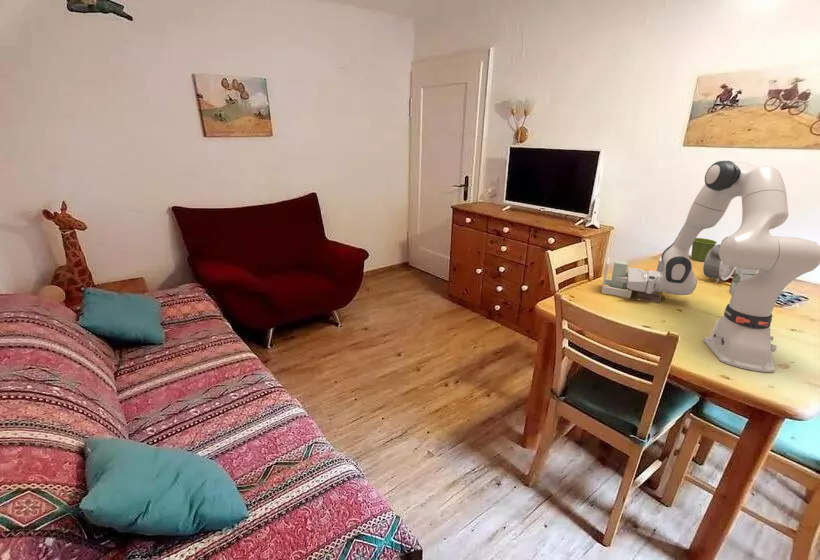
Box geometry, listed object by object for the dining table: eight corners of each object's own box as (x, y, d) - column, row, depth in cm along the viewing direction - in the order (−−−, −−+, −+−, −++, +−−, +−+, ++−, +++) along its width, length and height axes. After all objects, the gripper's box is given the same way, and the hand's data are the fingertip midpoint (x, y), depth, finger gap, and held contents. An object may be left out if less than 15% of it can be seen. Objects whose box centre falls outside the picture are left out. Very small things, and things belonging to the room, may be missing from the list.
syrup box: (749, 297, 180) (760, 266, 175) (734, 296, 181) (744, 265, 176) (742, 292, 186) (752, 262, 180) (727, 291, 187) (737, 261, 181)
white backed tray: (630, 298, 178) (637, 268, 173) (601, 293, 182) (607, 264, 177) (629, 289, 188) (636, 260, 183) (602, 285, 192) (607, 256, 187)
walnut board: (660, 303, 173) (661, 301, 173) (636, 299, 177) (637, 297, 177) (658, 294, 183) (659, 292, 182) (635, 290, 186) (636, 288, 186)
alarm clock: (716, 286, 193) (730, 241, 185) (696, 280, 200) (709, 236, 192) (733, 280, 201) (747, 236, 193) (714, 274, 208) (726, 232, 200)
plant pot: (712, 264, 223) (718, 244, 219) (686, 260, 228) (692, 241, 224) (710, 258, 232) (716, 239, 228) (686, 255, 238) (691, 236, 234)
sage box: (621, 294, 182) (627, 264, 177) (609, 292, 184) (615, 263, 179) (621, 290, 186) (627, 261, 181) (609, 288, 188) (615, 259, 183)
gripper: (650, 266, 185) (617, 262, 191) (653, 281, 168) (616, 276, 173) (647, 279, 187) (614, 275, 193) (650, 295, 170) (613, 289, 176)
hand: (615, 275), depth 183 cm, fingers closed on sage box, 5 cm apart
